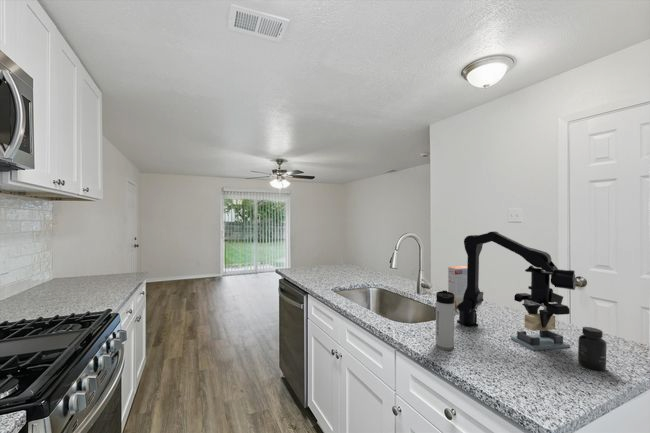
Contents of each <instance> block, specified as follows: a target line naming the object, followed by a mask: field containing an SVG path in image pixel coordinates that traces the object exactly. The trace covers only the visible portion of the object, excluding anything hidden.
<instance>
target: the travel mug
mask: <svg viewBox="0 0 650 433" xmlns="http://www.w3.org/2000/svg"><path fill="white" fill-rule="evenodd" d="M435 296H436V298H435V299H436V300H435V346H436V347H437V349H439V350H442V351H452V350H454V349H455V308H454V294H453V293H451V292H448V290H442V291H441V290H440V291H437V292H436V294H435Z"/></svg>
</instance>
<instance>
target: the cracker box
mask: <svg viewBox="0 0 650 433" xmlns="http://www.w3.org/2000/svg"><path fill="white" fill-rule="evenodd" d="M447 269H448V271H447V272H448V275H447V278H448V280H447V283H448V284H447V286H448V290H447V292H451V293H453V294H454V309H458V307H457V305H459V304H460V303H461V302H463V297H464V293H465V291H466V288H467V265H463V266H462V265H461V266H449V267H447Z"/></svg>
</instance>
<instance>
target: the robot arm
mask: <svg viewBox="0 0 650 433" xmlns="http://www.w3.org/2000/svg"><path fill="white" fill-rule="evenodd" d="M490 242H493V243H494V244H497V245H499V246H501V247H503V248H505V249H507V250H509V251H511V252H513V253H514V254H517V255H519V256H520V257H522V258H523V259H524V260H525V261H526V262H527V263H529V264H530V265H529V266H528V267H527V268H526V269H525V270H524V272H526V273H531V276H530V277H531V278H530V281H531V282H530V285H529V286H528V289H529V290H530V293H526V292H523V293H522V292H520V293H519V292H518V293H515V295H514V298H513V299H514V302H519V303H522V301H523V303H522V306H524V308H525V310H526V311H527V314H540V318H541V324H542V327H543V328H546V326H547V324H548V322H549V320H550V318H551V316H552V315H554V316H555V315H557V316H561V315H570V313H571V312H570V311H571V310H570V308H569V306H568V305H565V304H562V303H563V299H564V296H562V295H560V294H557V293H555V292H554V290H553V288H551V287H550V284H551V285H552V286H554V288H557V289H558V288H559V289H565V290H572V291H575V290H576V285H577V278H576V275H575V270H572V269H568V270H567V269H566V270H565V269H560V268H559V269H558V267H557V266H556V265H555V263H554V262H553V261H552V257H551V255H550V253H548V252H547V251H543V250H540V249H537V248H532V247H529V246H527V245H526V246H525V245H524V244H521V243H520V242H518V241H515V240H513V239H511V238H509V237H507V236H505V235H503V234H501V233H499V232H498V231H488V232H486V233H482V234H473V235H472V234H471V235H467V236H466V237H464V239H463V244H464V250H465V253H466V255H467V261H466V262H467V265H466V266H467V288H466V291H465V293H464V297H463V302H461V303H460V304H459V305H457V307H458V308H457V310H458V311H459V314H458V319H457V320H456V322H457V323H459V324H460V325H462V326H464V327H475V326H479V324H478V323H477V321H478V320H477V319H478V314H477V310H478V307H479V306H481V305H482V303H483V302H484V291H480V288H479V276H480V274H479V273H480V272H479V271H480V254H481V252H482V250H483V245H484V244H487V243H490ZM540 307H542V308H543V309H540Z"/></svg>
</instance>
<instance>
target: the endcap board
mask: <svg viewBox="0 0 650 433" xmlns="http://www.w3.org/2000/svg"><path fill="white" fill-rule="evenodd" d="M516 333H517V334H516V335H515V336H511V337H510V339H511V341H514V342H516V343H518V344H520V345H522V346H523V347H525V348H527V349H529V350H532V351H542V350H553V349H554V350H555V349H556V350H557V349H566V348H570V347H571V344H570V343H567V342H566V341H564V336H563V335H561V334H558V333H556V332H554V331H552V330H539V334H528V335H527V331H525V330H524V331H523V330H522V331H521V330H520V331H517V332H516Z"/></svg>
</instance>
